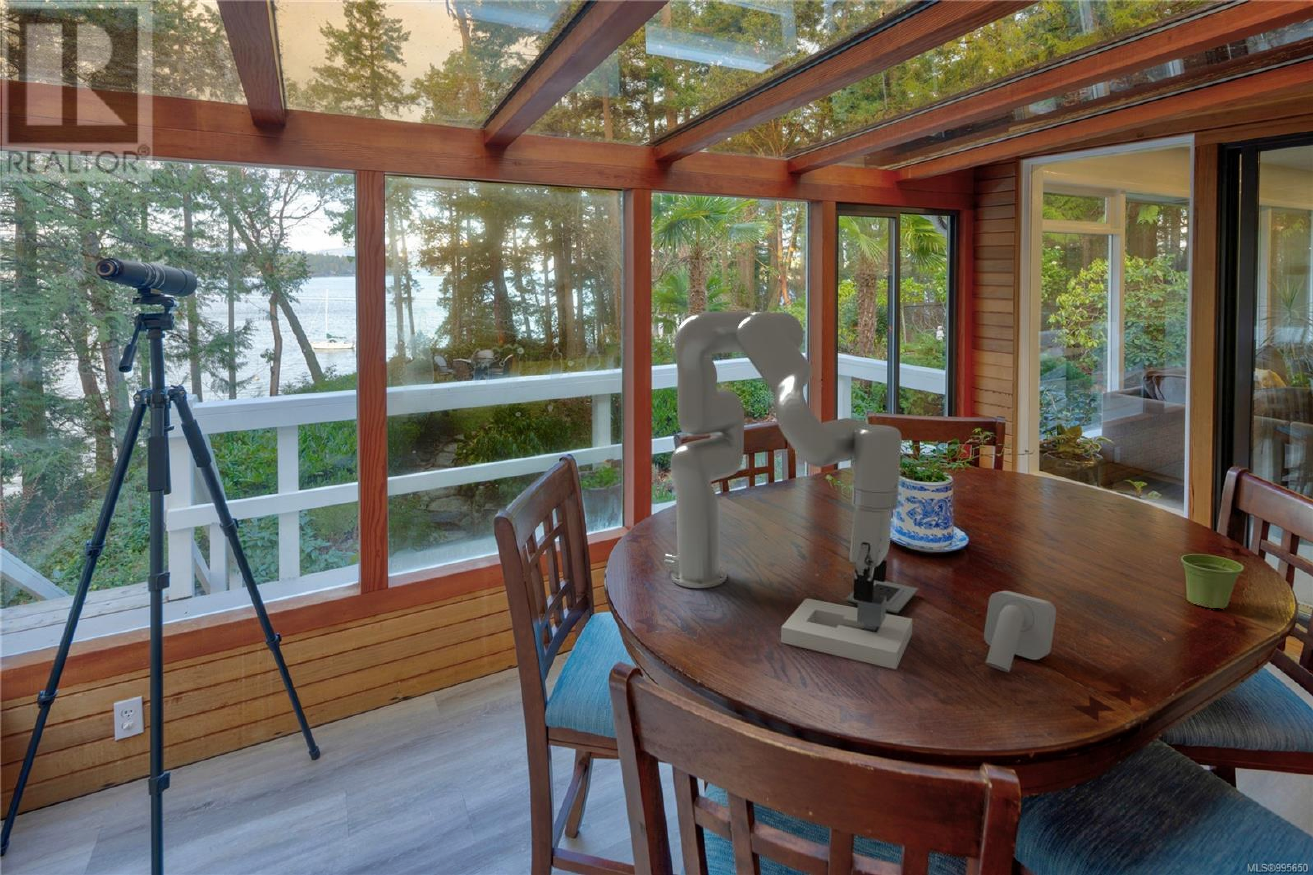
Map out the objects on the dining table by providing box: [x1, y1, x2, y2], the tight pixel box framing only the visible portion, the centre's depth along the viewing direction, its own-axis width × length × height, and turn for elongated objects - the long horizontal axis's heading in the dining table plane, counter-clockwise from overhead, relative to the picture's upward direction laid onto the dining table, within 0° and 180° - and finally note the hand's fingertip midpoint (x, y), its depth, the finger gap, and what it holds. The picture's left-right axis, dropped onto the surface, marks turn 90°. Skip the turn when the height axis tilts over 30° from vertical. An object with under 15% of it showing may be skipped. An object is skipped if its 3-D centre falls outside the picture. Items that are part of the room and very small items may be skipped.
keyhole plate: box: [780, 597, 913, 670], centre depth 121 cm, size 20×14×3 cm
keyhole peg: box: [857, 594, 887, 633], centre depth 118 cm, size 4×4×9 cm
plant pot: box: [1180, 553, 1245, 608], centre depth 129 cm, size 9×9×9 cm
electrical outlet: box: [844, 580, 919, 615], centre depth 136 cm, size 13×10×2 cm
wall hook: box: [983, 590, 1057, 673], centre depth 111 cm, size 10×12×12 cm
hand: (869, 590), depth 117 cm, fingers open, 9 cm apart
